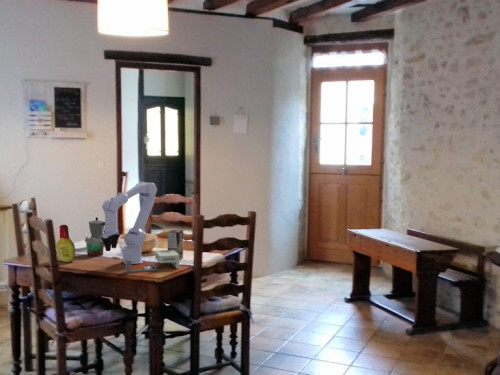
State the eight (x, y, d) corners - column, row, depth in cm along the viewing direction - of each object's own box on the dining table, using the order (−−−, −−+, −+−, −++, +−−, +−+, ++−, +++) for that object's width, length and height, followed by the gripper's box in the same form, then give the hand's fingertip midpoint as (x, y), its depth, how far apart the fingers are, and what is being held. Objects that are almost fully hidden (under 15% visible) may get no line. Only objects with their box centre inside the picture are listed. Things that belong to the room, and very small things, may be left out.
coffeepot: (83, 246, 346) (83, 217, 344) (95, 244, 354) (94, 215, 352) (101, 249, 338) (101, 219, 336) (113, 246, 346) (113, 217, 344)
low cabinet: (160, 270, 290) (159, 256, 289) (155, 263, 304) (154, 250, 303) (179, 268, 293) (179, 255, 292) (173, 262, 307) (173, 249, 306)
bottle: (53, 261, 307) (52, 224, 305) (62, 259, 312) (61, 222, 310) (68, 263, 301) (68, 226, 299) (77, 261, 306) (77, 224, 304)
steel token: (144, 270, 290) (144, 268, 290) (143, 268, 295) (143, 266, 295) (154, 269, 291) (154, 268, 291) (153, 267, 296) (153, 265, 296)
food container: (80, 255, 321) (80, 238, 320) (87, 253, 327) (87, 236, 326) (98, 257, 317) (98, 239, 316) (105, 255, 322) (104, 238, 321)
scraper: (126, 273, 283) (126, 261, 282) (123, 268, 293) (123, 256, 293) (157, 271, 288) (157, 259, 287) (153, 266, 298) (153, 254, 298)
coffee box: (178, 262, 308) (178, 232, 307) (167, 261, 309) (167, 232, 308) (183, 258, 317) (183, 229, 316) (172, 257, 318) (172, 229, 317)
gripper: (112, 226, 284) (112, 252, 285) (123, 221, 298) (123, 247, 300) (99, 225, 285) (99, 252, 286) (110, 221, 299) (111, 246, 301)
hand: (111, 249), depth 293 cm, fingers open, 7 cm apart
